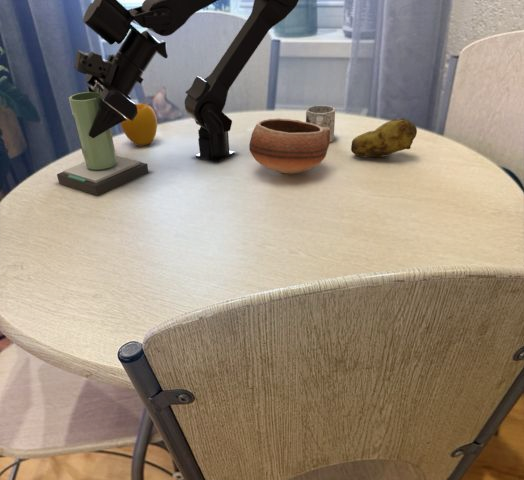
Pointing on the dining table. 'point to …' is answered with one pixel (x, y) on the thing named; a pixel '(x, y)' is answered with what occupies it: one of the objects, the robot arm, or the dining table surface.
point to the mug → (322, 117)
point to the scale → (102, 176)
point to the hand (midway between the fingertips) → (87, 132)
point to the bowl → (289, 144)
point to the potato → (385, 139)
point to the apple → (141, 125)
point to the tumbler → (84, 112)
